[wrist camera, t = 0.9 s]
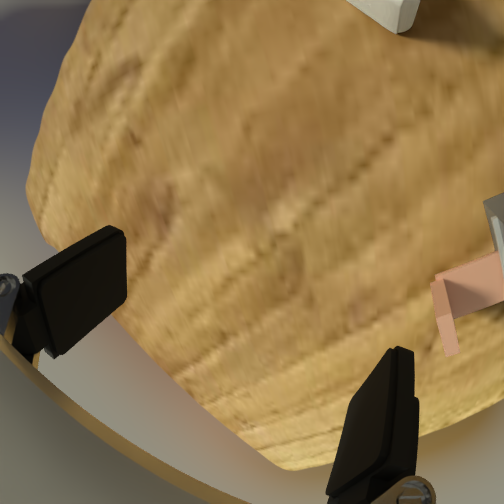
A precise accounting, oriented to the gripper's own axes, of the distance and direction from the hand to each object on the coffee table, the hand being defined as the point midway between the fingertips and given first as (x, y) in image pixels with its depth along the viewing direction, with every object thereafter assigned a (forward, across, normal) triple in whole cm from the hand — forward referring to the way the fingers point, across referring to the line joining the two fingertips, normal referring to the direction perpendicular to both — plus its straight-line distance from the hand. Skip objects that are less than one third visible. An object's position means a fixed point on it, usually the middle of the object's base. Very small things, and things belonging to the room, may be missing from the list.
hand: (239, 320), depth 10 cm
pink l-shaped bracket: (+22, -21, +2) cm, 31 cm away
